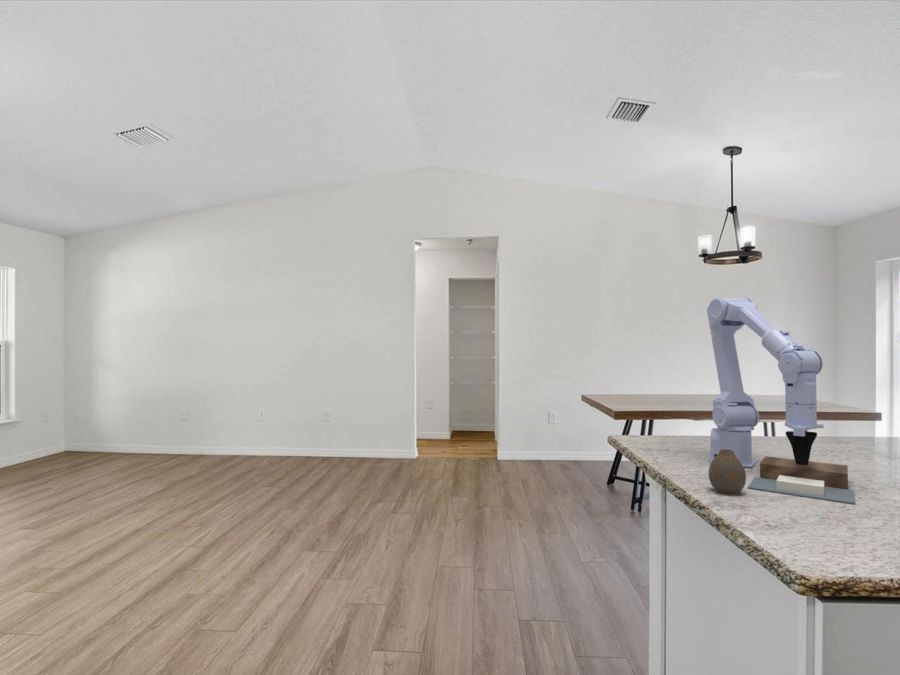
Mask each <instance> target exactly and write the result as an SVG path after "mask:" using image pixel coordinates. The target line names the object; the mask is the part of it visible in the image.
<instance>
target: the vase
mask: <svg viewBox="0 0 900 675" xmlns="http://www.w3.org/2000/svg"><path fill="white" fill-rule="evenodd" d="M708 479H709V481H710V485H711V486H712V488H713V489H714V490H715V491H716V492H718V493H720V494H724V495H738V494H740V493H741V492H742V491H743V489H744V488H745V485H746V481H747V474H746V469H745V467H743V465H742V463H741V462H740V461H739V459H738V458H737V457H736V456H735V454H734V452H733V451H732V450H728V449H721V450H720V451H719V453H718V455H717V456H716V457H715V458H714V459H713V460H712V462H710V464H709V468H708Z"/></svg>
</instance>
